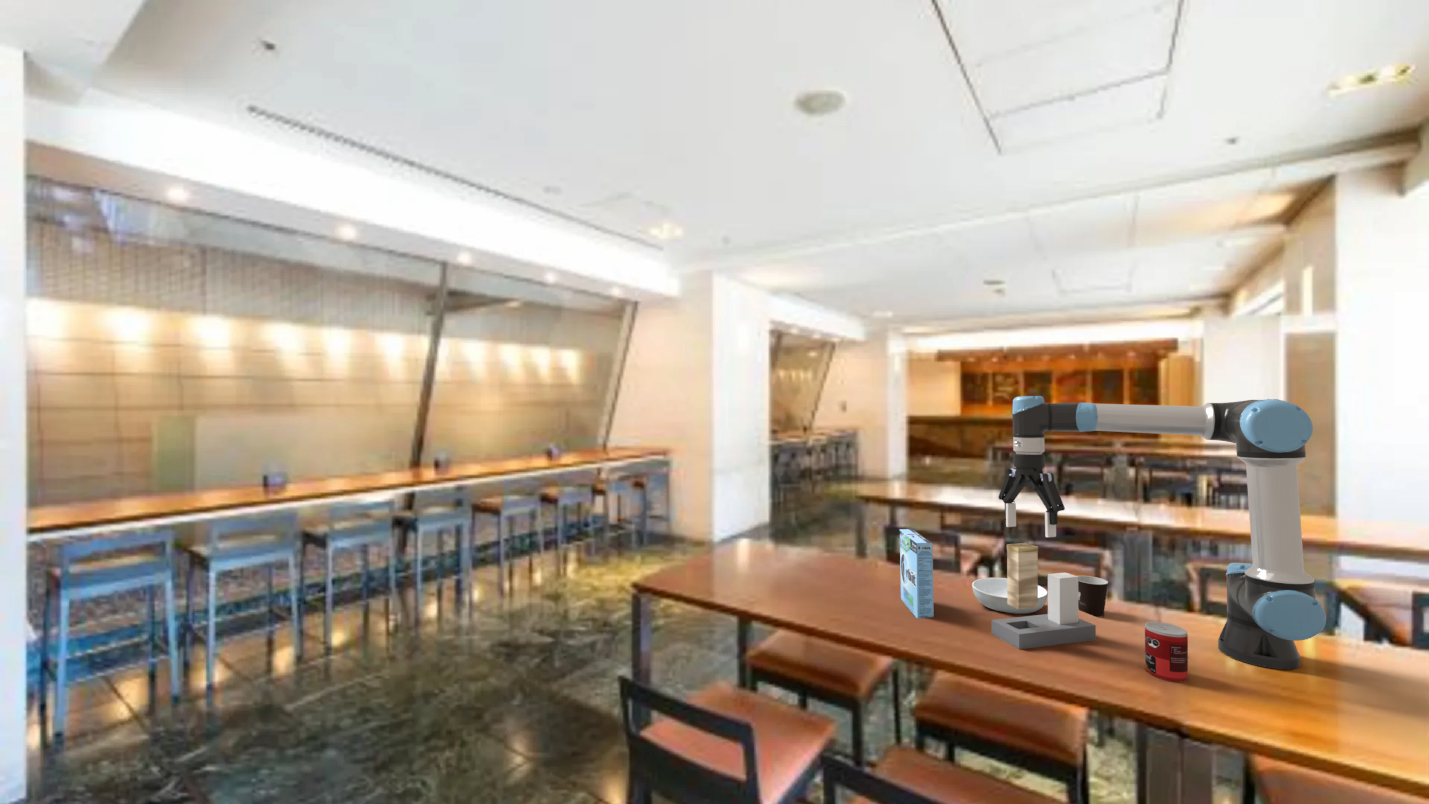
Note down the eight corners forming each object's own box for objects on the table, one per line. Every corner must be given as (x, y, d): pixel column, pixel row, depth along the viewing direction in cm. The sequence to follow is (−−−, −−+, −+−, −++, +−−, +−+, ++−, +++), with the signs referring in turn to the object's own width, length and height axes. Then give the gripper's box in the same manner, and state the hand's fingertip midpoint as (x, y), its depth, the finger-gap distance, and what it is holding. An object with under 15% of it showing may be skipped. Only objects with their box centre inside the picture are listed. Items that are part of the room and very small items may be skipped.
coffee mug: (1107, 620, 171) (1107, 586, 171) (1073, 613, 176) (1072, 580, 176) (1109, 609, 181) (1109, 576, 181) (1077, 603, 186) (1077, 571, 186)
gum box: (933, 621, 171) (933, 543, 171) (916, 620, 171) (916, 543, 171) (915, 598, 190) (914, 528, 190) (899, 598, 191) (899, 528, 191)
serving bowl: (976, 594, 195) (976, 573, 195) (1048, 605, 184) (1048, 583, 184) (967, 613, 177) (967, 591, 177) (1046, 627, 166) (1046, 603, 166)
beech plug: (1038, 607, 153) (1038, 546, 153) (1018, 609, 152) (1018, 548, 152) (1026, 602, 158) (1026, 542, 158) (1006, 604, 156) (1006, 544, 156)
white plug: (1078, 636, 157) (1078, 576, 157) (1059, 638, 155) (1059, 578, 155) (1066, 630, 160) (1065, 572, 161) (1047, 632, 159) (1047, 574, 159)
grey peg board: (1095, 644, 154) (1095, 625, 154) (1019, 653, 149) (1019, 634, 149) (1064, 629, 164) (1064, 612, 164) (991, 638, 158) (991, 620, 158)
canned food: (1146, 664, 143) (1145, 619, 143) (1188, 673, 137) (1187, 627, 138) (1143, 675, 137) (1143, 628, 137) (1187, 686, 132) (1187, 637, 132)
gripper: (984, 450, 169) (985, 523, 169) (1055, 457, 145) (1057, 542, 145) (1005, 449, 171) (1007, 521, 171) (1079, 456, 147) (1081, 540, 146)
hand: (1030, 531), depth 158 cm, fingers open, 13 cm apart
